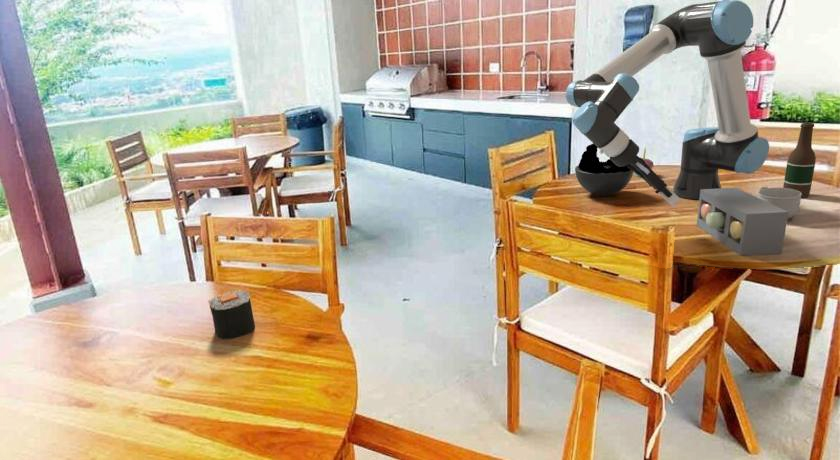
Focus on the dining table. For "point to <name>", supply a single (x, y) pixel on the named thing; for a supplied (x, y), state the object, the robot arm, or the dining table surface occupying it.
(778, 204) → the teacup
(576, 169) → the bowl of black rocks
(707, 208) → the terracotta button
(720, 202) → the console
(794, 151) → the beer bottle
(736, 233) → the ochre button
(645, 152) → the cupcake
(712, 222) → the sage button
